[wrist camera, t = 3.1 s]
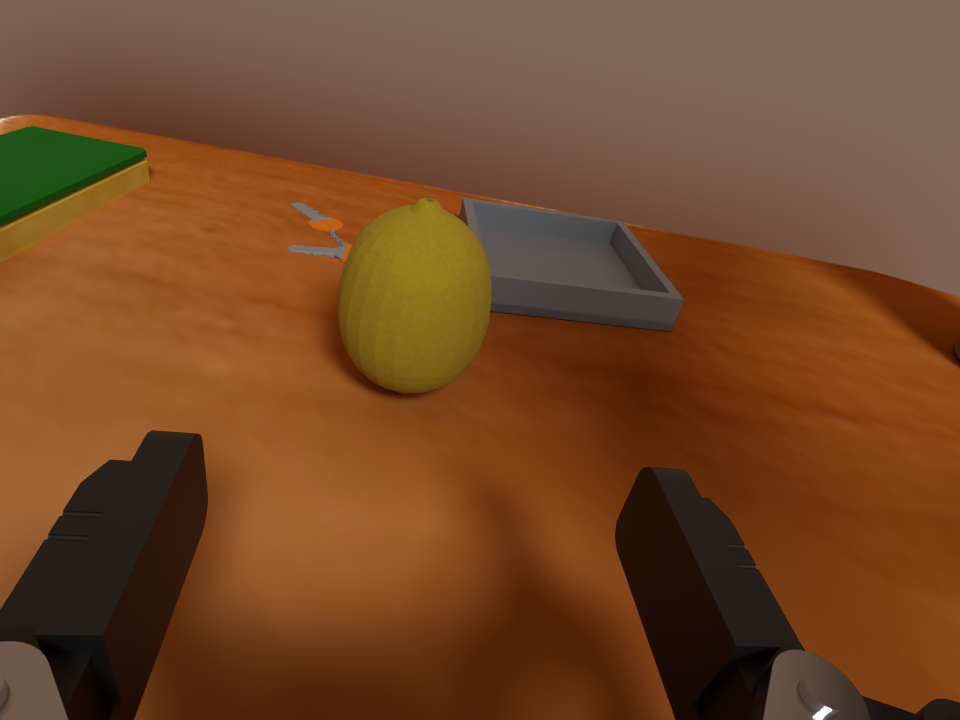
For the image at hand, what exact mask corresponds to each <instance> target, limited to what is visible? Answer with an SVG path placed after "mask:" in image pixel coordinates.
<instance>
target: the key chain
mask: <svg viewBox="0 0 960 720" xmlns="http://www.w3.org/2000/svg"><path fill="white" fill-rule="evenodd" d="M291 206H293V207H294V208H296V209H297V210H299V211H300V212H302V213H303V214H304V215H306V216H307V217H309V218H310V219H311V220H310V222H308V224H309V226H310V227H312V228H314V229H316V230H321V231H326V232H329V231H330V235H331V236H332V238H333V239H335V241H336V242H337V243H340V245H342V246H341V247H338V248H326V247H313V246H299V245H290V246H289V247H288V250H289V251H294V252H302V253H305V254H307V255H309V254H313V256H322V255H326V257H330V258H334V257H337V258H338V259H340V260H341V262H346V260H347V257H348V254H349V252H350V249H351V247H352V245H353V244H348V243H346V242H343V241H342V240H340V239H339V238H338V237H337V236H336V234H335V231H338V230H340V229H342V227H343V223H342V222H341V221H340V220H337V219H335V218H328V217H326V216H325V215H321V214H319V213H318V211H317V210H314V211H313V209H312V208H308V207H307V205H306V204H302V203H293V204H291Z"/></svg>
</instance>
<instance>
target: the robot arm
mask: <svg viewBox="0 0 960 720" xmlns="http://www.w3.org/2000/svg"><path fill="white" fill-rule="evenodd" d="M954 351H955V353H956V355H957V357H958V358H959V359H960V338H959V340H958V341H957V342H956V344H955V345H954ZM207 506H208V493H207V482H206V472H205V462H204V451H203V442H202V437H201V435H200V434H196V433H182V432H168V431H154V430H152V431H150V432H148V434H147V435H146V436H145V438H144V439H143V441H142V443H141V445H140V447H139V448H138V450H137V452H136V454H135V456H134V457H133V459H132V461H123V460H109V461H108V462H106V463H105V464H104V465H103V466H101V467H100V468H99V469H97V470H96V471H95V472H94V473H92V474H91V475H90V476H89V477H87V478H86V479H85V480H83V481H82V482H81V483H80V485H79V486H78V488H77V489H76V491H75V493H74V494H73V496H72V497H71V499H70V501H69V502H68V504H67V505H66V507H65V508H64V510H63V515H62V516H59V518H58V520H57V521H56V523H55V524H54V526H53V527H52V529H51V531H50V532H49V536H48V539H47V540H44V542H43V543H42V545H41V546H40V548H39V550H38V551H37V553H36V554H35V556H34V558H33V559H32V561H31V562H30V564H29V565H28V567H27V569H26V570H25V572H24V573H23V575H22V577H21V578H20V580H19V581H18V583H17V584H16V586H15V588H14V589H13V591H12V592H11V594H10V596H9V597H8V599H7V600H6V602H5V603H4V605H3V607H2V608H1V610H0V720H134V718H135V715H136V712H137V710H138V707H139V704H140V701H141V699H142V696H143V693H144V691H145V688H146V685H147V682H148V680H149V677H150V674H151V671H152V669H153V666H154V663H155V660H156V658H157V655H158V652H159V649H160V647H161V644H162V641H163V638H164V636H165V633H166V630H167V628H168V625H169V622H170V619H171V617H172V614H173V611H174V608H175V606H176V603H177V600H178V597H179V595H180V592H181V589H182V586H183V584H184V581H185V578H186V576H187V573H188V570H189V567H190V565H191V562H192V559H193V556H194V554H195V551H196V548H197V545H198V543H199V540H200V537H201V534H202V531H203V528H204V524H205V520H206V514H207ZM615 541H616V548H617V552H618V555H619V558H620V561H621V564H622V567H623V570H624V572H625V575H626V578H627V581H628V584H629V587H630V590H631V593H632V596H633V598H634V601H635V604H636V607H637V610H638V613H639V616H640V619H641V622H642V624H643V627H644V630H645V633H646V636H647V639H648V642H649V645H650V647H651V650H652V653H653V656H654V659H655V662H656V665H657V668H658V671H659V673H660V676H661V679H662V682H663V685H664V688H665V691H666V694H667V697H668V699H669V702H670V705H671V708H672V711H673V714H674V717H675V720H960V703H959V702H956V701H952V700H947V699H936V700H933V701H931V702H929V703H928V704H927V705H926V706H925V707H923V708H922V709H921V710H920V711H919V712H917V713H916V714H914V713H911V712H908V711H905V710H902V709H899V708H896V707H893V706H890V705H887V704H884V703H882V702H879V701H876V700H873V699H870V698H867V697H864V696H861V695H860V693H859V692H858V690H857V689H856V687H855V686H854V685H853V684H852V682H851V681H850V680H849V679H848V678H847V677H846V676H845V675H844V674H843V673H842V672H841V671H840V670H839V669H837V668H836V667H835V666H834V665H832V664H831V663H829V662H828V661H826V660H825V659H823V658H821V657H819V656H817V655H815V654H812V653H810V652H806V651H805V650H804V648H803V646H802V645H801V643H800V641H799V640H798V638H797V636H796V634H795V633H794V631H793V629H792V627H791V626H790V624H789V622H788V620H787V618H786V617H785V615H784V613H783V611H782V610H781V608H780V606H779V604H778V603H777V601H776V599H775V597H774V596H773V594H772V592H771V590H770V589H769V587H768V585H767V583H766V581H765V580H764V578H763V576H762V574H761V573H760V571H759V570H757V569H756V568H755V565H756V564H755V562H754V560H753V559H752V557H751V555H750V553H749V552H748V550H747V549H744V543H743V541H742V539H741V537H740V536H739V534H738V532H737V530H736V529H735V527H734V525H733V523H732V522H731V520H730V519H729V518H728V517H727V516H726V515H725V514H724V513H723V512H722V511H721V510H720V509H719V508H718V507H717V506H716V505H715V504H714V503H713V502H712V501H711V500H710V499H709V498H701V496H700V494H699V493H698V491H697V489H696V487H695V485H694V483H693V481H692V480H691V478H690V476H689V475H688V473H687V472H686V471H684V470H681V469H667V468H653V467H645V468H643V469H642V470H641V471H640V472H639V474H638V476H637V478H636V480H635V483H634V485H633V487H632V489H631V491H630V494H629V496H628V498H627V500H626V502H625V504H624V507H623V509H622V511H621V513H620V515H619V518H618V520H617V524H616V531H615Z"/></svg>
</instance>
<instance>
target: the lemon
mask: <svg viewBox="0 0 960 720" xmlns="http://www.w3.org/2000/svg"><path fill="white" fill-rule="evenodd" d="M491 290H492V287H491V274H490V267H489V263H488V259H487V257H486V254H485V252H484V249H483V247H482V244H481V243H480V241H479V240H478V238H477V236H476V235H475V234H474V233H473V232H472V230H471V229H470V228H469V227H468V226H467V225H466V224H465V223H464V222H463V221H462V220H460V219H459V218H458V217H456V216H455V215H453V214H451V213H449V212H447V211H445V210H444V209H443V208H442V206H441V205H440V203H439V202H438V201H437V200H434V199H431V198H421V199H419V200H418V201H417V202H416V203H415V204H413V205H407V206H402V207H397V208H395V209H392V210H390V211H388V212H385V213H383V214H382V215H380V216H378V217H377V218H375V219H374V220H373V221H372V222H371V223H369V224H368V225H367V226H366V227H365V228H364V229H363V230H362V231H361V232H360V234H359V235H358V236H357V238H356V239H355V241H354V243H353V245H352V247H351V249H350V252H349V254H348V257H347V260H346V263H345V266H344V269H343V272H342V276H341V280H340V284H339V289H338V298H337V315H338V323H339V328H340V333H341V338H342V341H343V345H344V347H345V350H346V352H347V354H348V355H349V357H350V358H351V360H352V361H353V363H354V364H355V366H356V367H357V368H358V370H359V371H360V372H361V373H362V374H364V375H365V376H366V377H367V378H368V379H370V380H371V381H372V382H374V383H375V384H377V385H379V386H381V387H383V388H386V389H389V390H392V391H395V392H398V393H400V394H408V393H424V392H430V391H433V390H435V389H438V388H440V387H443V386H445V385H447V384H448V383H450V382H451V381H453V380H454V379H456V378H457V377H458V376H460V375H461V374H462V373H463V372H464V371H465V370H466V369H467V367H468V366H469V365H470V363H471V362H472V360H473V359H474V357H475V356H476V354H477V352H478V351H479V349H480V347H481V345H482V342H483V340H484V337H485V334H486V331H487V327H488V323H489V316H490V308H491Z"/></svg>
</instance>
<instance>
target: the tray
mask: <svg viewBox="0 0 960 720" xmlns="http://www.w3.org/2000/svg"><path fill="white" fill-rule="evenodd" d="M459 219H460V220H462V221H463V222H464V223H465V224H466V225H467V226H468V227H469V228H470V229H471V230H472V232H473V233H474V234H475V235H476V236H477V238H478V240H479V241H480V243H481V244H482V247H483V249H484V252H485V254H486V257H487V259H488V263H489V267H490V274H491V287H492V290H491V308H490V311H493V312H502V313H511V314H520V315H529V316H537V317H546V318H555V319H564V320H573V321H582V322H590V323H599V324H608V325H617V326H626V327H635V328H644V329H652V330H661V331H670V332H671V331H672V328H673V326H674V324H675V321H676V319H677V317H678V314H679V312H680V310H681V307H682V305H683V302H684V298H683V297H682V296H681V295H680V293H679V292H678V291H677V290H676V288H675V287H674V286H673V284H672V283H671V282H670V281H669V279H668V278H667V277H666V275H665V274H664V273H663V272H662V270H661V269H660V268H659V266H658V265H657V264H656V263H655V261H654V260H653V259H652V257H651V256H650V255H649V254H648V252H647V251H646V250H645V248H644V247H643V246H642V245H641V243H640V242H639V241H638V240H637V238H636V237H635V236H634V234H633V233H632V232H631V231H630V229H629V228H628V227H627V225H626V224H625V223H624V222H623V221H619V220H612V219H606V218H599V217H592V216H585V215H579V214H572V213H565V212H558V211H551V210H545V209H538V208H531V207H524V206H517V205H510V204H504V203H497V202H490V201H483V200H476V199H470V198H463V199H462V205H461V211H460V217H459Z"/></svg>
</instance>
